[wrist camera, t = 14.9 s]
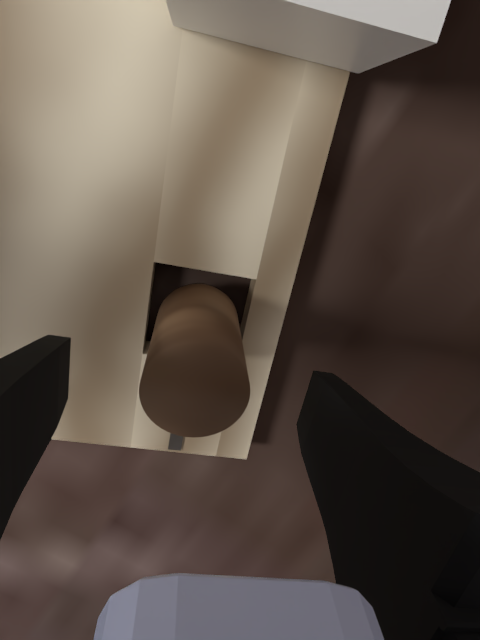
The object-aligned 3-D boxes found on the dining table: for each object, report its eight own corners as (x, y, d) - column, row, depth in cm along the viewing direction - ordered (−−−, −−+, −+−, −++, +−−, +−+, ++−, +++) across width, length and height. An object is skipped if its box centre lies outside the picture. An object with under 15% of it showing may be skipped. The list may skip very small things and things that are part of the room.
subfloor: (-178, 396, 18) (-204, 414, 17) (-434, -706, 8) (-543, -848, 7) (244, 442, 21) (246, 460, 20) (444, -327, 11) (473, -383, 10)
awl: (156, 334, 18) (132, 430, 12) (166, 265, 17) (145, 336, 11) (227, 345, 19) (237, 443, 13) (242, 279, 17) (261, 353, 12)
